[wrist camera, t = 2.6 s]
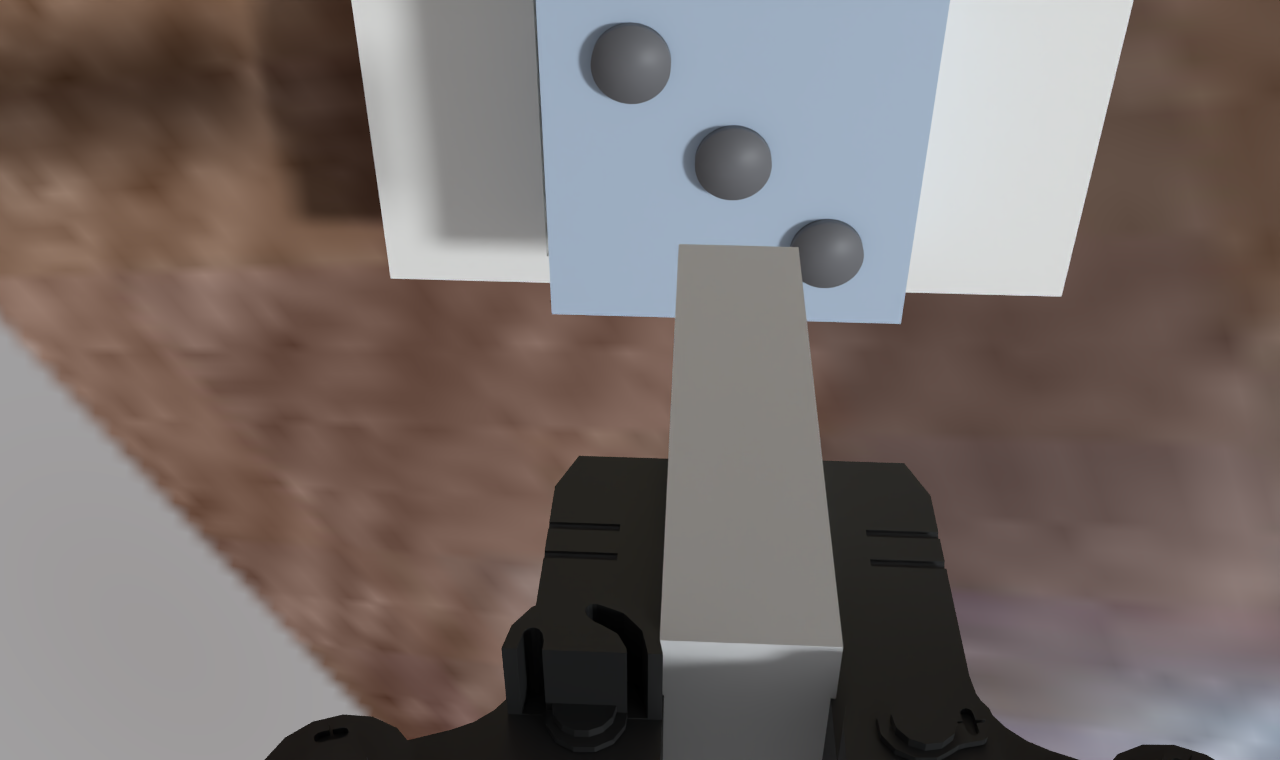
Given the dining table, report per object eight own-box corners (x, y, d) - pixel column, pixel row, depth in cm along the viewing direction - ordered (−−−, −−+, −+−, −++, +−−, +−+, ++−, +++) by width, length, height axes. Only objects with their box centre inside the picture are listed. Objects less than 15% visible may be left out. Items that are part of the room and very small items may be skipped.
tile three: (552, -85, 20) (532, -30, 17) (929, -79, 19) (956, -22, 17) (566, 240, 23) (550, 320, 21) (884, 249, 23) (901, 330, 21)
